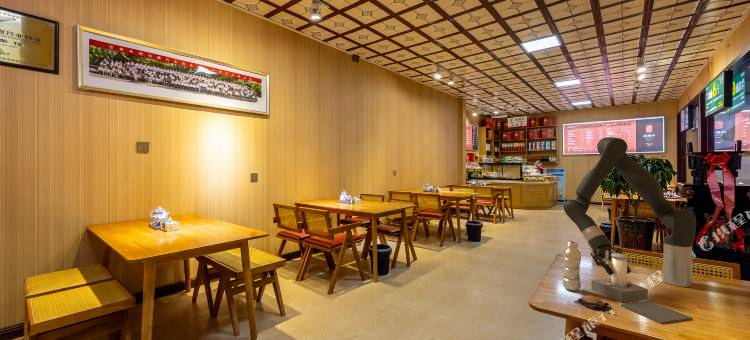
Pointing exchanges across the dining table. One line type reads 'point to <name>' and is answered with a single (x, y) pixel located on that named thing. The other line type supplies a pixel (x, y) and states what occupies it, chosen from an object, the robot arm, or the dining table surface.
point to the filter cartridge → (619, 270)
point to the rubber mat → (656, 312)
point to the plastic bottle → (572, 267)
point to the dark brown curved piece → (593, 303)
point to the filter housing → (620, 290)
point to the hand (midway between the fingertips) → (620, 273)
